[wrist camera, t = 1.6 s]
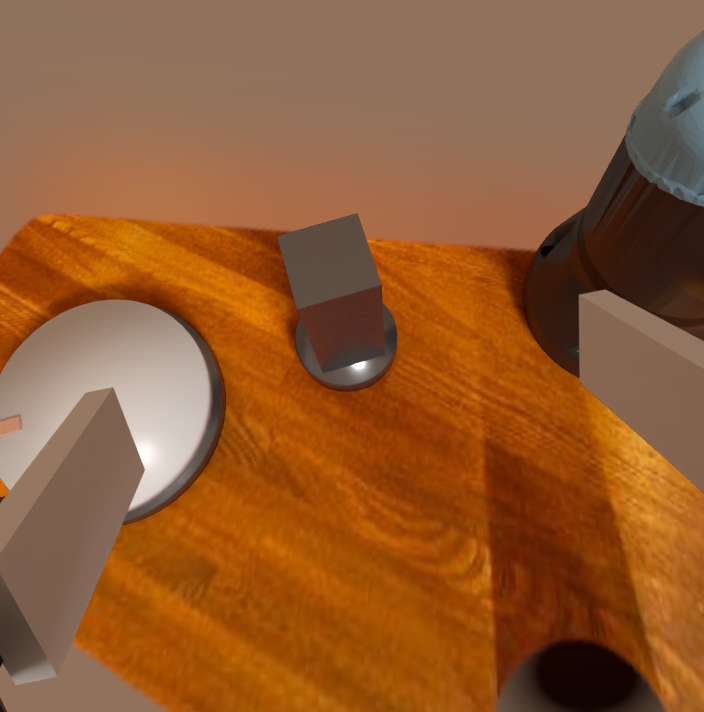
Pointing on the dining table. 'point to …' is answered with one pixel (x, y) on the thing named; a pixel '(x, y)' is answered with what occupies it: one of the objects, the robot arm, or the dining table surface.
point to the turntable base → (208, 442)
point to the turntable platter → (105, 370)
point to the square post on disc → (338, 305)
